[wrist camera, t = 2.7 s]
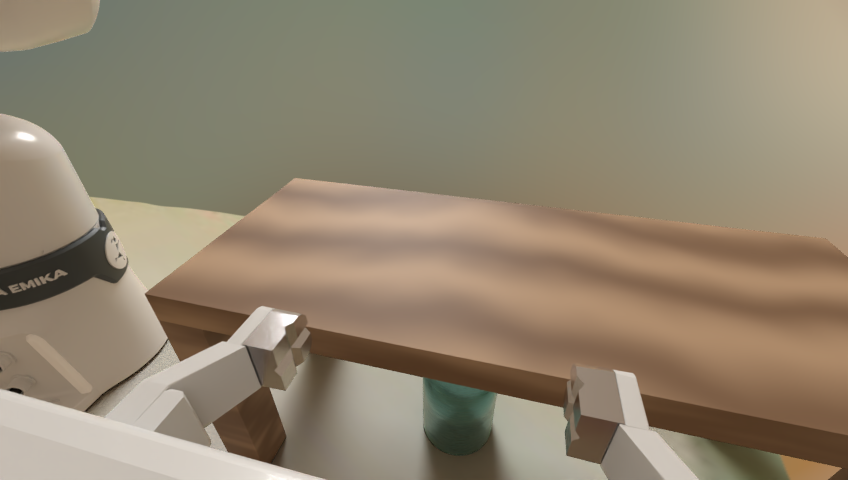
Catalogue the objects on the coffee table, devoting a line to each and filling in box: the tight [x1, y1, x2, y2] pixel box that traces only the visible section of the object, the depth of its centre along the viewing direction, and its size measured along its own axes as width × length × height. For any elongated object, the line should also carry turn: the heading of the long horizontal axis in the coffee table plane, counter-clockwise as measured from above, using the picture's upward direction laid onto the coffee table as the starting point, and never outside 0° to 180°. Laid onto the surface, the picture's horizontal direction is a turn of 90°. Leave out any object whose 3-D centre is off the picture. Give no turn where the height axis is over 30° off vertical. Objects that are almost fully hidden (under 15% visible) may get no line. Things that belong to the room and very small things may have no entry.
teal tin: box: [423, 377, 497, 456], centre depth 31 cm, size 6×6×11 cm
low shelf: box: [145, 178, 848, 480], centre depth 28 cm, size 16×40×18 cm, turn 76°
